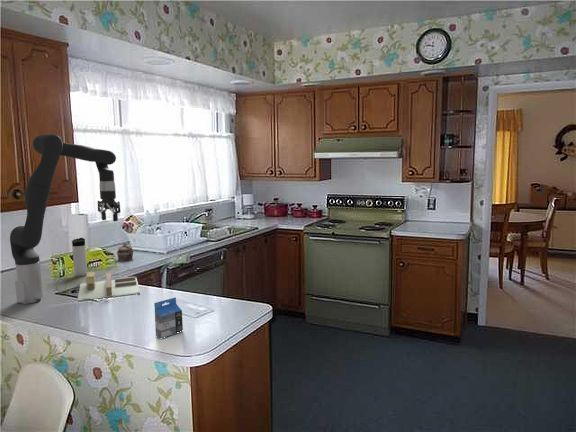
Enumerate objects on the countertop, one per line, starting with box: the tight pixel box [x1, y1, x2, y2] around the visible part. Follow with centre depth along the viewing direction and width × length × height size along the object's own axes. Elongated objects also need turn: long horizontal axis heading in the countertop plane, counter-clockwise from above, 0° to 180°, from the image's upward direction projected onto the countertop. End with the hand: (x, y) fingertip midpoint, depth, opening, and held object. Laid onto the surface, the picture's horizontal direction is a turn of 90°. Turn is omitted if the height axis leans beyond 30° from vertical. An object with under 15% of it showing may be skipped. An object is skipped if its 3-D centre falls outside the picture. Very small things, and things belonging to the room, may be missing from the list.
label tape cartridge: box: [154, 297, 184, 339], centre depth 156 cm, size 9×4×12 cm, turn 136°
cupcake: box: [116, 242, 135, 262], centre depth 267 cm, size 10×10×10 cm
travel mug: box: [71, 237, 89, 278], centre depth 231 cm, size 6×7×20 cm
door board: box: [77, 272, 141, 303], centre depth 209 cm, size 26×26×5 cm
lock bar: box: [85, 270, 96, 289], centre depth 211 cm, size 9×4×6 cm, turn 22°
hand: (109, 220), depth 230 cm, fingers open, 8 cm apart
